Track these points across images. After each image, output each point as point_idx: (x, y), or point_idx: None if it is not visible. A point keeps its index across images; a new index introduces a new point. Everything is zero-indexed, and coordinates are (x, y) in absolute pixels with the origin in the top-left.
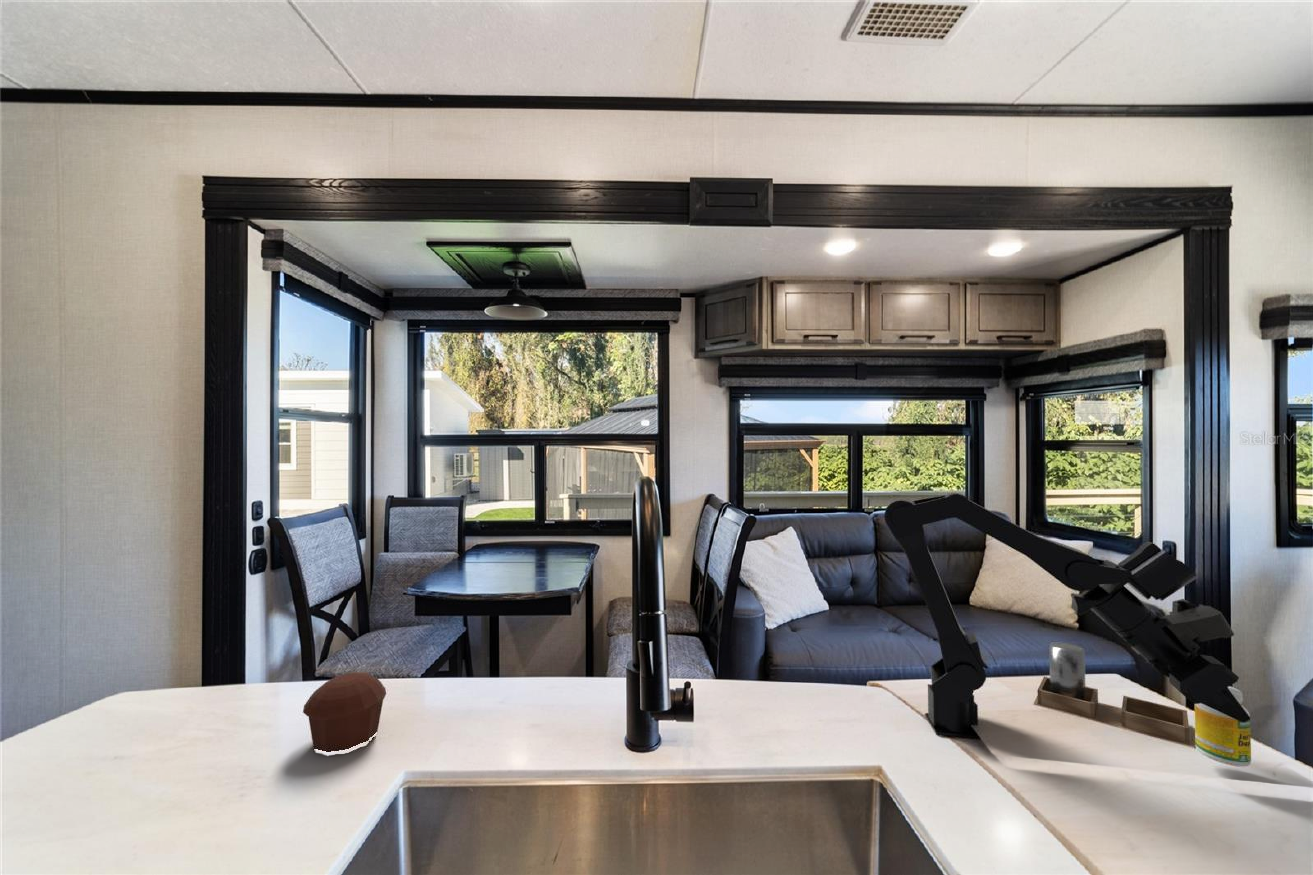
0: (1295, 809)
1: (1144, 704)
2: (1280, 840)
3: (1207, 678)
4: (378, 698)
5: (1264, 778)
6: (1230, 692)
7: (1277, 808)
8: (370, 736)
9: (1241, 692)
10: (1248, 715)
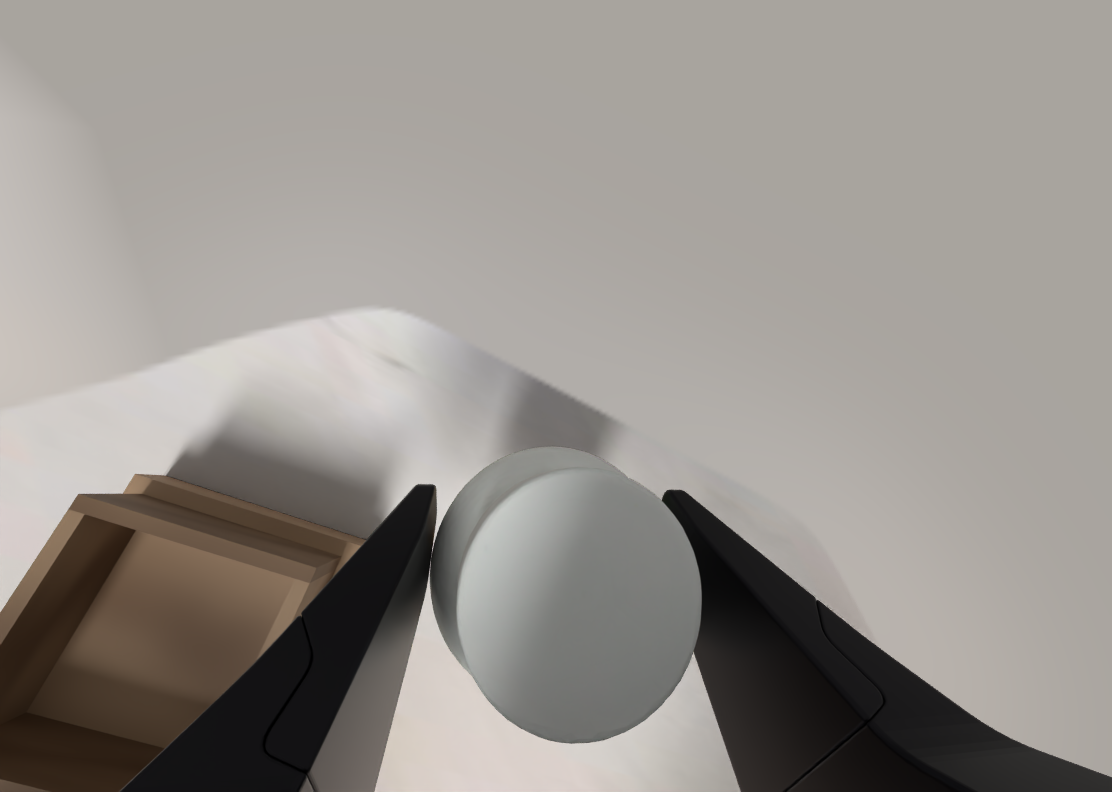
0: (583, 416)
1: (3, 665)
2: (743, 521)
3: None
4: None
5: (437, 402)
6: (886, 656)
7: (598, 454)
8: None
9: (624, 478)
10: (694, 500)
